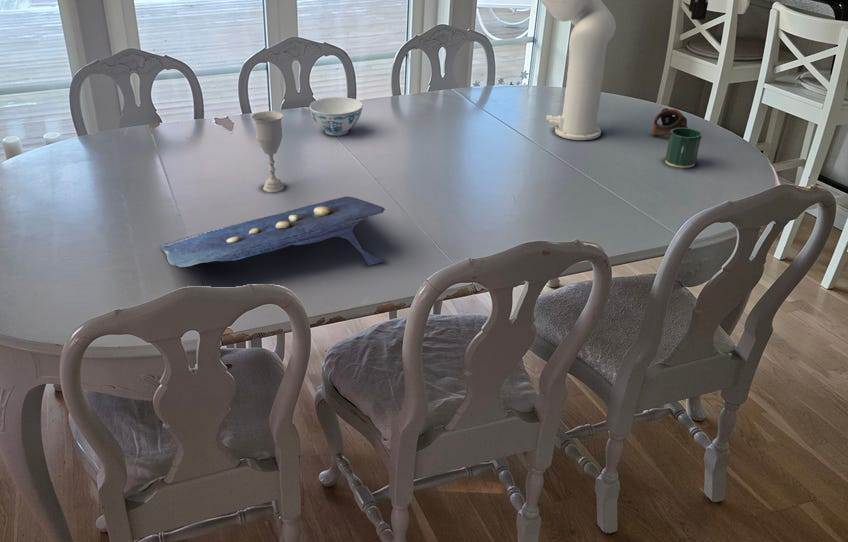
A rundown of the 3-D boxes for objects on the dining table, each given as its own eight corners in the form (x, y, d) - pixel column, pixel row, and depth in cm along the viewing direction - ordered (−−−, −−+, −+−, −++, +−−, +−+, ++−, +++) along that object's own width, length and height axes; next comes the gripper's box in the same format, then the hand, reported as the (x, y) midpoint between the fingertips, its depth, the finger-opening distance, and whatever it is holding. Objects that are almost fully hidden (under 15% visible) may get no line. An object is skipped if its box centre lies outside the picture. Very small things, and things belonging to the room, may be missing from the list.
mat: (187, 319, 146) (171, 260, 143) (167, 287, 171) (153, 237, 167) (403, 256, 160) (393, 201, 156) (355, 235, 184) (346, 187, 181)
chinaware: (372, 128, 227) (372, 102, 223) (344, 144, 216) (343, 117, 212) (330, 119, 234) (329, 94, 229) (300, 134, 223) (298, 108, 219)
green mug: (665, 155, 205) (671, 126, 201) (695, 159, 203) (702, 129, 199) (663, 169, 197) (669, 139, 193) (694, 173, 195) (701, 142, 191)
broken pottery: (695, 141, 215) (691, 119, 210) (661, 156, 218) (656, 134, 212) (679, 117, 224) (674, 95, 218) (646, 131, 226) (641, 109, 220)
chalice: (292, 184, 193) (287, 113, 184) (281, 195, 188) (275, 122, 178) (265, 180, 195) (259, 110, 186) (253, 191, 190) (246, 119, 180)
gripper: (691, -66, 192) (679, 7, 201) (695, -56, 178) (681, 22, 187) (724, -66, 190) (710, 8, 199) (731, -56, 176) (715, 23, 185)
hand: (696, 15), depth 193 cm, fingers open, 9 cm apart
